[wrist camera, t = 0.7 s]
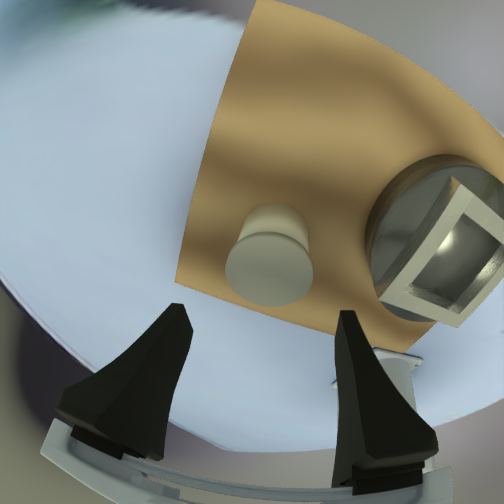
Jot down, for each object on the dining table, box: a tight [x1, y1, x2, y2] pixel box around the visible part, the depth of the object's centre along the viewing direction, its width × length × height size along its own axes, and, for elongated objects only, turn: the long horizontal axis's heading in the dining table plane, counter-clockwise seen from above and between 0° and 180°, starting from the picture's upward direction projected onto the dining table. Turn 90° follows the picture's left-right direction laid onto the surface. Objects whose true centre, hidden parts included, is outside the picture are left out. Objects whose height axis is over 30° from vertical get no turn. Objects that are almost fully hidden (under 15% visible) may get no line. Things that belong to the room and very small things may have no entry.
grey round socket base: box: [364, 154, 504, 328], centre depth 15 cm, size 12×12×4 cm
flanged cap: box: [225, 203, 313, 307], centre depth 17 cm, size 5×5×4 cm
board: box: [175, 0, 504, 353], centre depth 18 cm, size 22×24×1 cm
